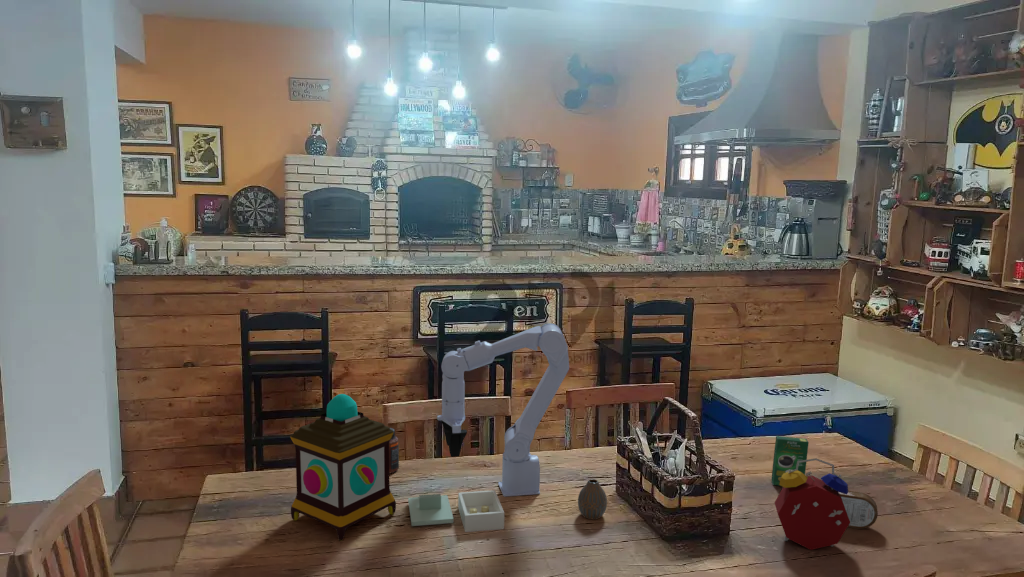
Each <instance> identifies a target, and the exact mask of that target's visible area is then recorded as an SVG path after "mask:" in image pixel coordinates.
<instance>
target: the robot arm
mask: <svg viewBox="0 0 1024 577" xmlns="http://www.w3.org/2000/svg"><path fill="white" fill-rule="evenodd" d="M538 347H539V349H540V350H541V351H542V353H543V355H544V356H546V359H547V362H548V366H547V368H546V370H545V372H544V374H543V375H542V377H541V379H540V381H539V383H538V384H537V386H536V388H535V390H534V392H533V393H532V395H531V397H530V399H529V401H528V402H527V404H526V406H525V407H524V410H523V411H522V413H521V415H520V416H519V417H518V419H516V420H515V422H514V423H513V425H512V426H510V427H509V428H508V429H506V430H505V433H504V445H505V446H504V452H503V453H502V467H501V468H502V474H501V477H502V478H501V481H498V483H497V484H498V486H499V488H500V491H501V493H502V496H503V497H517V496H529V495H530V496H531V495H540V494H541V491H540V487H541V486H540V482H541V480H540V479H541V478H540V475H541V465H540V460H539V457H538V455H537V454H531V452H530V451H531V444H532V442H533V440H534V436H535V433H536V430H537V427H538V426H539V424H540V422H541V420H542V419H543V416H545V414H546V411H547V410H548V408H549V406H550V404H551V403H552V401H553V399H554V397H555V395H556V394H557V392H558V390H559V388H560V387H561V385H562V383H563V381H564V379H565V377H566V376H567V374H568V373H569V370H570V358H569V347H568V343H567V341H566V338H565V336H564V334H563V332H562V330H561V328H560V326H558V325H557V324H555V323H552V322H551V323H550V322H549V323H545V324H543V325H537V326H536V325H535V326H533V327H531V328H528V329H525V330H523V331H521V332H518V333H516V334H513V335H510V336H508V337H506V338H502V339H501V340H497V341H495V342H493V343H490V342H488V341H486V340H485V341H482V342H481V340H477V341H474V344H473V345H471V346H467V347H465V348H461V347H458V348H457V349H456V350H450V351H448V352H446V353H445V355H444V356H443V358H442V362H441V366H440V367H441V372H442V382H441V414H440V415H436V416H437V417H436V418H437V419H436V420H438V421H440V422H441V425H442V428H443V433H444V435H445V441H446V445H447V446H448V450H449V455H450V457H451V458H454V457H455V458H457V457H460V455H461V450H462V445H463V443H464V440H465V437H466V436H467V435H468V434H467V433H468V430H467V429H462V424H463V423H465V422H464V421H465V420H466V415H465V412H466V411H465V409H466V408H465V405H466V404H465V401H466V400H465V399H466V398H465V397H466V396H465V395H466V394H465V393H466V392H465V390H466V384H465V382H466V381H465V379H464V378H465V376H464V374H465V372H471V371H473V370H475V369H477V368H478V369H479V368H481V367H484V366H486V365H491V364H493V362H494V360H495V357H498V356H501V355H505V354H508V353H511V352H514V351H518V350H520V349H521V350H522V349H524V348H527V349H530V350H533V351H535V352H537V351H538Z"/></svg>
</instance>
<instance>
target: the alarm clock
mask: <svg viewBox="0 0 1024 577" xmlns="http://www.w3.org/2000/svg"><path fill="white" fill-rule="evenodd" d="M812 461H817V462H819V463H822V464H825V465H828V466H831V473H827V474H825V475H823V476H821V478H818V477H816V476H814V475H812V471H808V472H807V473H806V472H805V475H804V474H803V473H802V472H800V471H798V466H799V463H801V462H806V463H807V462H812ZM779 485H781V486H780V487H782V488H781V490H780V492H779V493H778V496H777V498H776V499H775V501H774V506H775V510H776V512H777V517H778V518H779V519H778V520H779V521H780V524H781V527H782V530H783V532H784V535H785V536H784V537H783V539H784V540H783V541H785V542H788V540H790V541H793V542H794V543H796V544H798V545H800V546H802V547H804V548H806V549H808V550H810V551H812V550H816V549H821V548H824V547H834V545H837V544H838V543H839V541H840V540H841V538H842V536H843V535H844V533H845V532H846V530H847V528H849V527H848V525H849V524H850V520H849V518H848V515H847V512H846V509H845V506H844V504H843V501H842V498H841V496H840V494H839V492H841V493H844V494H847V493H848V490H849V485H848V483H847V482H846V481H845V480H843V479H842V475H841V474H839V475H838V474H836V473H835V464H834V463H830V462H827V461H825V460H821V459H820V458H817V457H816V458H811V459H808V458H807V460H802V461H797V465H796V469H795V470H792V471H791V470H790V469H789V471H788V472H786V473H784V474H783V475H782V477H781V480H780V483H779Z"/></svg>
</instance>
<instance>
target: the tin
mask: <svg viewBox="0 0 1024 577" xmlns="http://www.w3.org/2000/svg"><path fill="white" fill-rule="evenodd" d="M839 494H840V496H841V498H842V501H843V504H844V506H845V509H846V512H847V515H848V518H849V520H850V524H849V525H848V527H847V528H852V529H856V530H857V529H860V530H861V529H868V528H870V527H871V526H873V525H874V524H875V523H876V521H877V519H878V515H879V513H878V512H879V511H878V506H877V503H876V501H875V500H874V498H872V497H871V496H870V495H869V494H868V493H864V492H860V491H856V490H855V491H854V490H849V489H848V493H847V494H844V493H841V492H839Z"/></svg>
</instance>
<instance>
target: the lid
mask: <svg viewBox="0 0 1024 577" xmlns="http://www.w3.org/2000/svg"><path fill="white" fill-rule="evenodd" d="M407 499H408V500H407V503H408V509H409V510H408V511H409V516H410V517H409V518H410V524H411V525H410V526H411V527H417V526H429V525H430V526H431V525H442V524H443V525H444V524H454V515H453V511H452V508H451V504H450V500H449V497H448V494H445V495H441V493H434V494H422V495H421V494H420V495H419V496H416V497H408V498H407Z"/></svg>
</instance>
